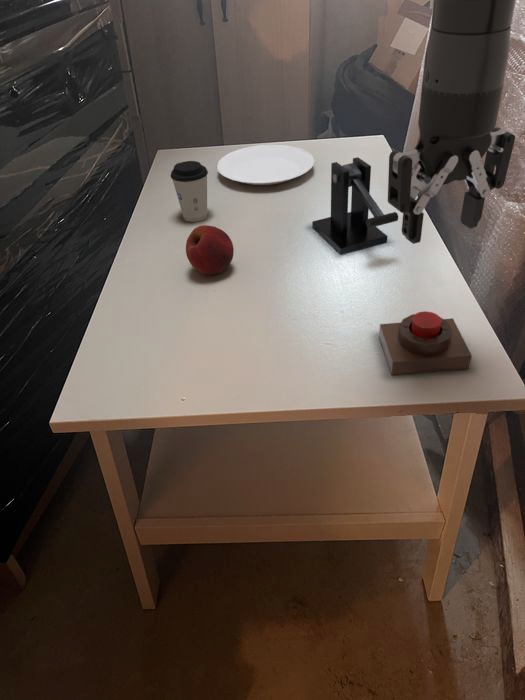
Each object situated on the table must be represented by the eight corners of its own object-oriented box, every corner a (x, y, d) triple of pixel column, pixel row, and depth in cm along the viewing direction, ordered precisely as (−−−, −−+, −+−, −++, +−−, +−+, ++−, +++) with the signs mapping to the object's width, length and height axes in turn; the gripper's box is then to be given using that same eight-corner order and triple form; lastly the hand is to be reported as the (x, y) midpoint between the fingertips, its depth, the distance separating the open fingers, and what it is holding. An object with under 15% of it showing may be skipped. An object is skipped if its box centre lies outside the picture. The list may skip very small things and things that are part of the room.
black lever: (396, 225, 93) (400, 213, 91) (368, 232, 91) (371, 221, 89) (358, 172, 99) (361, 160, 97) (332, 178, 98) (334, 166, 96)
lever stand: (387, 242, 101) (393, 170, 93) (340, 254, 99) (342, 182, 91) (355, 216, 109) (358, 148, 101) (312, 227, 107) (311, 158, 99)
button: (435, 321, 77) (437, 310, 76) (443, 337, 74) (445, 326, 73) (408, 323, 77) (409, 312, 76) (415, 340, 74) (416, 329, 73)
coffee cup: (217, 208, 115) (211, 158, 109) (208, 225, 110) (201, 174, 103) (183, 207, 116) (175, 158, 110) (172, 224, 111) (163, 173, 105)
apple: (185, 264, 99) (177, 221, 94) (229, 254, 101) (224, 212, 96) (194, 286, 94) (187, 242, 89) (240, 276, 95) (236, 232, 90)
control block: (450, 330, 81) (454, 307, 79) (469, 368, 75) (474, 344, 72) (378, 336, 81) (380, 313, 79) (391, 375, 75) (393, 351, 72)
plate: (215, 159, 135) (214, 149, 133) (305, 150, 136) (305, 140, 134) (220, 198, 118) (219, 187, 117) (323, 187, 120) (323, 176, 118)
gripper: (420, 102, 52) (404, 263, 62) (551, 75, 55) (514, 232, 66) (377, 81, 57) (368, 233, 68) (498, 58, 61) (472, 206, 71)
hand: (440, 232), depth 67 cm, fingers open, 7 cm apart
